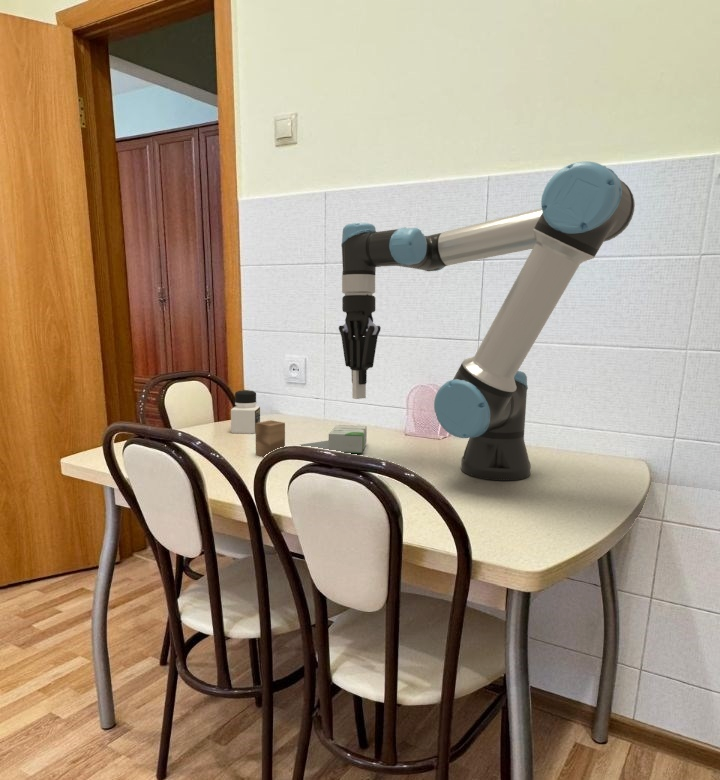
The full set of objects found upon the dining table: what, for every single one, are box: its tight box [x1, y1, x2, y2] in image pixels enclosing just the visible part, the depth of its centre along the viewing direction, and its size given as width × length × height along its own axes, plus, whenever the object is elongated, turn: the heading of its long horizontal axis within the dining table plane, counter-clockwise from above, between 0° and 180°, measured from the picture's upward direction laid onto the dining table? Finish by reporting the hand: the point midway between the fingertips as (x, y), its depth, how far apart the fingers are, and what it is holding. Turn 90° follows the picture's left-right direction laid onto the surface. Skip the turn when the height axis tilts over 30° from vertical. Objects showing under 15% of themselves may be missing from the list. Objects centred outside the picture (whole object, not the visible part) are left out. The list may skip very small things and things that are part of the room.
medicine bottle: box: [230, 389, 261, 435], centre depth 164 cm, size 7×7×12 cm
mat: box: [300, 439, 329, 449], centre depth 143 cm, size 12×18×1 cm
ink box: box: [328, 424, 368, 454], centre depth 144 cm, size 9×5×12 cm
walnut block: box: [255, 419, 286, 458], centre depth 137 cm, size 5×5×8 cm
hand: (359, 398), depth 130 cm, fingers closed
